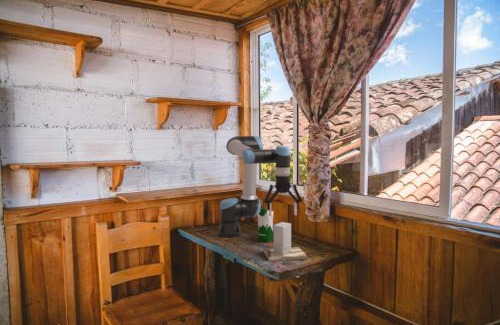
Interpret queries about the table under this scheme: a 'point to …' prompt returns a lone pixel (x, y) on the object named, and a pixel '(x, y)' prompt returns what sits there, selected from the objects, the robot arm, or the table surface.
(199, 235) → the table surface
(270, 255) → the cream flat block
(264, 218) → the milk carton
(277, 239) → the skincare box
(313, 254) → the table surface
